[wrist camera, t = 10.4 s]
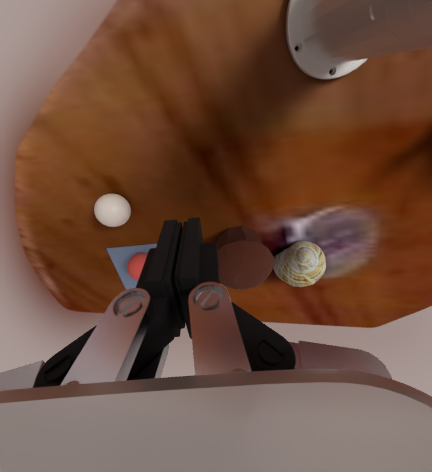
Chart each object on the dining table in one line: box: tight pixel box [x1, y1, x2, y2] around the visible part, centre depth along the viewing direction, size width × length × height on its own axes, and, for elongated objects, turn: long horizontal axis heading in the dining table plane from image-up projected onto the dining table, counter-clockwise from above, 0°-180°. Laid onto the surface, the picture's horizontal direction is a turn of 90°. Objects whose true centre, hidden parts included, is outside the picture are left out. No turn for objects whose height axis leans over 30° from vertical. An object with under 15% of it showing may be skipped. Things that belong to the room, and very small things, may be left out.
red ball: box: [127, 253, 147, 280], centre depth 44 cm, size 6×6×6 cm
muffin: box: [217, 226, 274, 289], centre depth 41 cm, size 12×11×10 cm
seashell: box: [273, 241, 326, 287], centre depth 45 cm, size 10×10×10 cm
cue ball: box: [94, 194, 131, 227], centre depth 37 cm, size 6×6×6 cm
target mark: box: [106, 244, 157, 290], centre depth 48 cm, size 14×14×1 cm
